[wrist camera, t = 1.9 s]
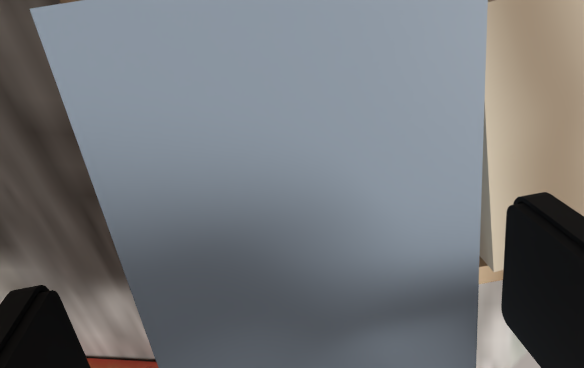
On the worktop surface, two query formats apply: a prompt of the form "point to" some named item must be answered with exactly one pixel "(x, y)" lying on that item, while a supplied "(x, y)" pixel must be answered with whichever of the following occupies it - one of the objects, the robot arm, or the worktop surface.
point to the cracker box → (120, 363)
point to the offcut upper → (531, 111)
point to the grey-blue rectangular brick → (285, 172)
